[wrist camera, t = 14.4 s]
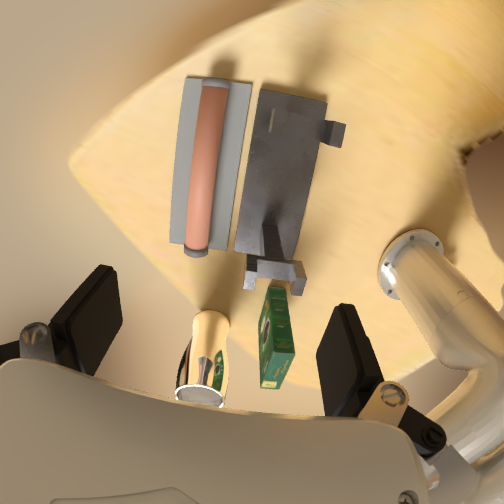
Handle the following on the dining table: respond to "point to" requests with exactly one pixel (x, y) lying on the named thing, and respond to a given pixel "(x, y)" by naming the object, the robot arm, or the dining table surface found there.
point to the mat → (225, 166)
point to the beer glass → (205, 362)
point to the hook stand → (280, 184)
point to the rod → (205, 164)
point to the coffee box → (275, 339)
